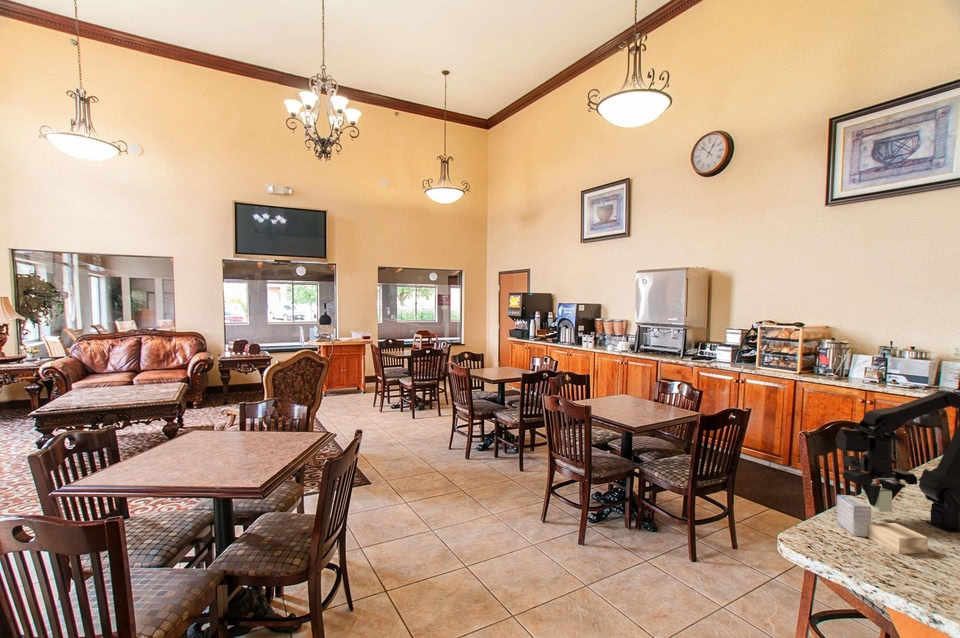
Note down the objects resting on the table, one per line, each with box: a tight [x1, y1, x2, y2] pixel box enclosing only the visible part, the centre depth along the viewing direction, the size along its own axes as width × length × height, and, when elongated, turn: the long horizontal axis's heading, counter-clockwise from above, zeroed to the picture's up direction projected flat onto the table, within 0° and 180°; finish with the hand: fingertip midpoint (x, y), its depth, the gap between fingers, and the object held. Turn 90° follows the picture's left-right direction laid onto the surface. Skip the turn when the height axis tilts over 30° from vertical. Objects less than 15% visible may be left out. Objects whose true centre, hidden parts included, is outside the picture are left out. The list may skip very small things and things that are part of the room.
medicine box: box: [836, 494, 872, 538], centre depth 124 cm, size 8×4×9 cm, turn 168°
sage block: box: [865, 486, 893, 513], centre depth 130 cm, size 4×4×6 cm
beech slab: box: [868, 522, 929, 555], centre depth 116 cm, size 8×8×4 cm
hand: (878, 505), depth 130 cm, fingers closed on sage block, 4 cm apart
